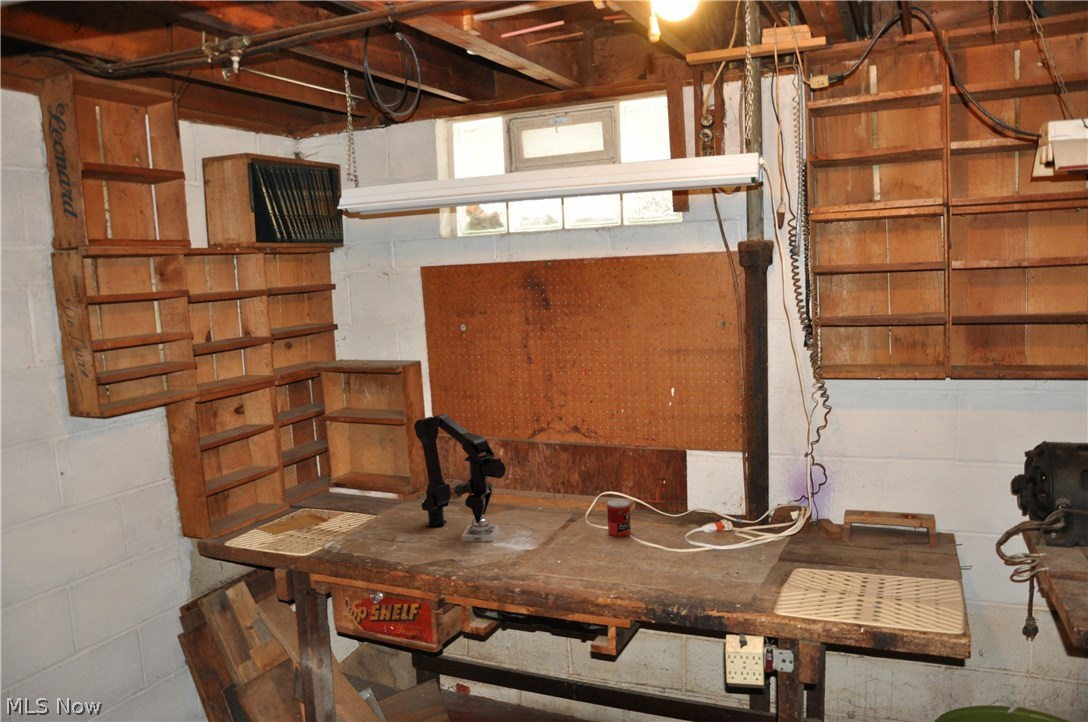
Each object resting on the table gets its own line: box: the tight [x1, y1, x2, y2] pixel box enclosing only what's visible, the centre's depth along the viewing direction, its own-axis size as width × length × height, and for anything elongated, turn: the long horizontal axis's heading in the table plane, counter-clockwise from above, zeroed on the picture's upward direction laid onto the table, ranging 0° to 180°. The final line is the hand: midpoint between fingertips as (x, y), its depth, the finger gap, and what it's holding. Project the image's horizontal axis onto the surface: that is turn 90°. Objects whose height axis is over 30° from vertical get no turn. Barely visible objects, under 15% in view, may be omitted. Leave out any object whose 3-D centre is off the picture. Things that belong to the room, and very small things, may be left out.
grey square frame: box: [461, 524, 500, 542], centre depth 277 cm, size 12×11×2 cm
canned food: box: [606, 498, 631, 538], centre depth 274 cm, size 8×8×11 cm
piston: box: [471, 516, 491, 535], centre depth 278 cm, size 6×6×6 cm
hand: (480, 518), depth 277 cm, fingers open, 9 cm apart
